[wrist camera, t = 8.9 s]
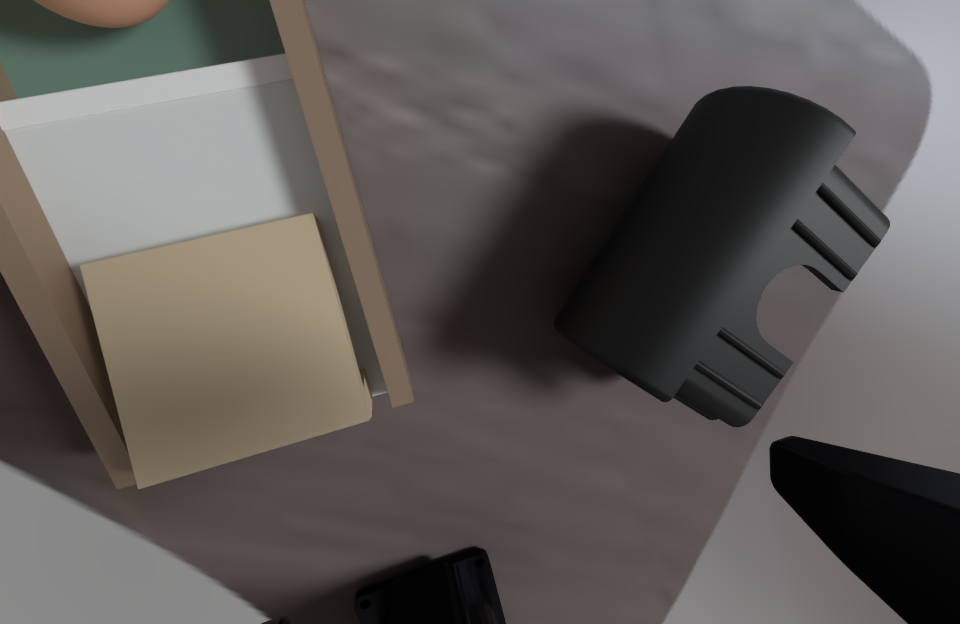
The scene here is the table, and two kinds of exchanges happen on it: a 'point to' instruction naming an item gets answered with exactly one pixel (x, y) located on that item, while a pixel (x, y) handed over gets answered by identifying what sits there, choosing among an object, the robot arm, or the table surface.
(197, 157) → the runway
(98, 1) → the ball
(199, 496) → the table surface
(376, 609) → the robot arm
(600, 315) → the end cap
